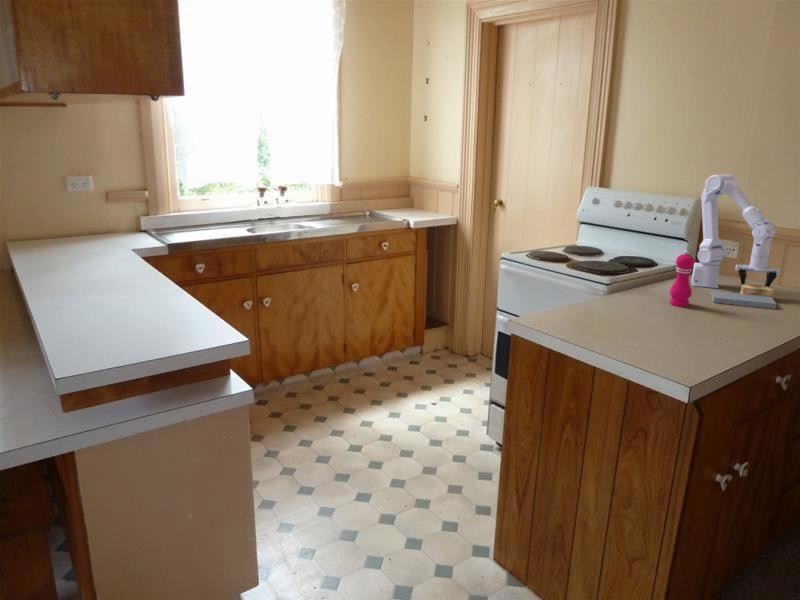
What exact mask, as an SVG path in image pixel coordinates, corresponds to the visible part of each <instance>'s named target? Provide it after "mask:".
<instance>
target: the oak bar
mask: <svg viewBox="0 0 800 600" xmlns="http://www.w3.org/2000/svg"><path fill="white" fill-rule="evenodd" d="M739 294H750V295H760V296H770V297H772V298H773V299H774V294H775V289H774V288H773V286H769V287H767V286H765V285H759V284H758V285H757V284H756V285H755V284H748V283H747V284H746V283H745V284H742V286H741V285H740V292H739Z"/></svg>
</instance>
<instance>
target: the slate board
mask: <svg viewBox="0 0 800 600" xmlns="http://www.w3.org/2000/svg"><path fill="white" fill-rule="evenodd" d="M711 297H712V298H711ZM710 298H711V301H712V302H713V304H719V303H723V304H722V305H729V304H733V305H732V306H739V305H740V307H741V306H742V307H750V308H751V307H752V308H761V309H771V310H776V309H777V308H776V307H777V302H776V301H775V300H774V297H773V298H772V297H770V296H760V295H750V294H740V292H739V293H736V292H728V291H727V292H726V291H719V290H718V291H717V290H711V291H710Z"/></svg>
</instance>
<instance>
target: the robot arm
mask: <svg viewBox="0 0 800 600" xmlns="http://www.w3.org/2000/svg"><path fill="white" fill-rule="evenodd" d="M704 184H705V185H704V188H703V190H702V193H701V198H700V199H701V214H702V215H701V216H702V217H701V220H702V236H703V237H702V238H703V240H702V241H701V243H700V244H699V251H698V252H697V259H698V261H699V262H694V265H693V266H692V267H693V268H692V274H691V285H692V286H693V287H704V288H705V287H706V288H714V289H718V288H719V285H718V278H719V272H720V267H721V261H724V259H725V257H726V251H725V249H724V247H723V246H724V245H723V242H722V241H721V239H719V219H718V213H719V212H718V199H719V198H720V197H721V196H722V195H723V194H724V195H728V196H730V197H731V198H732V199H733V201H734V202H735V203H736V204H737V205H738V207H739V208H740V209H741V210H742V215H741V216H742V217H743V219H744V220H745V221H746V223H747V224H748V226H749V227H750V228H751V230H752V231H751V234H752V237H753V244H752V250H751V256H750V260H749V264H735V269H734V270H735V271H737V273H738V275H739V279H740V287H741V286H742V284H746V279H747V272H754V273H765V274H766V279H765V284H764V286H767V287H771V285H772V283H773V282H774V281H775V279H776V278H777V277H778V276H777V275H780V274H781V268H780V267H773V266H768V263H769V257H770V253H771V251H770V250H771V246H772V241H773V238H774V237H775V236H776V234H777V227H776V225H775V224H774V223H773V222H770V220H769V219H767V218H766V217H765V216H764V213H762V211H763V210H762V209H761V207H760V208H759V207H758V206H755V205H754V206H753V205H752V203H751V202H750V200H749V199H748V198H747V196H746V194H745V193H744V191H743V190H742V188H741V187H740V184H739V181H738V179H736V178H735V176H734V175H733V174H732V173H725V174H712V175H710V176H709V177H708V178H707V179H706V180H705V181H704Z"/></svg>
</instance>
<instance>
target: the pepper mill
mask: <svg viewBox="0 0 800 600" xmlns="http://www.w3.org/2000/svg"><path fill="white" fill-rule="evenodd" d="M694 263H695V258H694V257H693V256H692V254H691V255H690V251H689V250H687V249H685V250H684V251H683V254H680V255H678V257H676V259H675V264H676V270H675V272H676V278H675V281H674V282H673V284H672V285H671V287H670V289H669V295H670V296H671V297H670V299H669V304H670V305H671V304H672V305H671V306H674V305H675V307H679V306H686V307H688V306H689V303H690V301H689V299H690V298H691V296H692V288H691V284H690V280H689V279H690V274H691V273H692V271H693V268H692V267H694Z"/></svg>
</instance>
